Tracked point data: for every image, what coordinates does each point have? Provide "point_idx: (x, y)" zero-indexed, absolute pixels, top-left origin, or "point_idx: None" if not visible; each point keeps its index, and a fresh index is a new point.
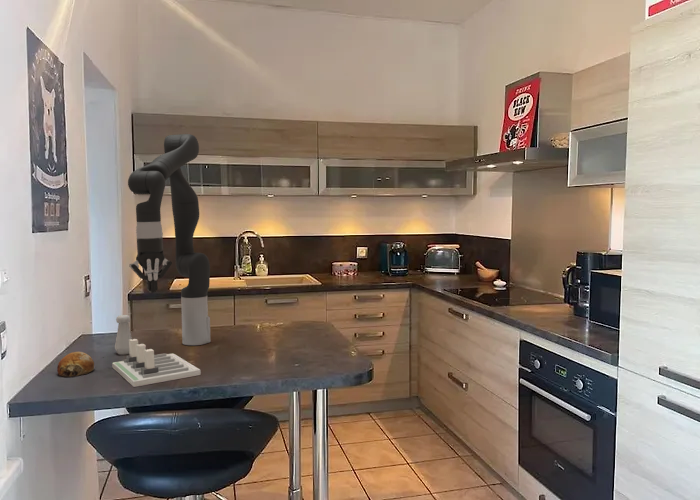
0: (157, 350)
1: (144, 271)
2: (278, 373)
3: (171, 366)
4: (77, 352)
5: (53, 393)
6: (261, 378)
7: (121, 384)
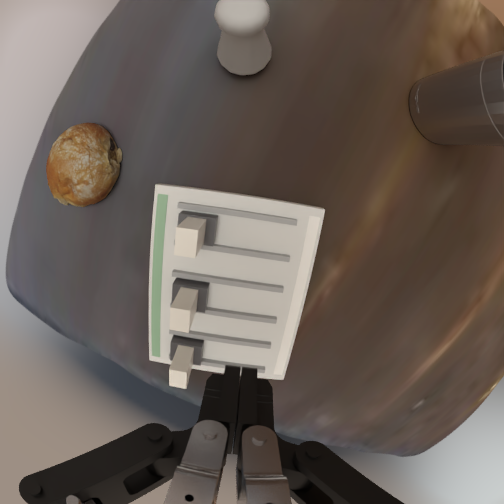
0: (330, 96)
1: (175, 475)
2: (368, 425)
3: (242, 344)
4: (65, 171)
5: (42, 285)
6: (334, 431)
7: (137, 325)
